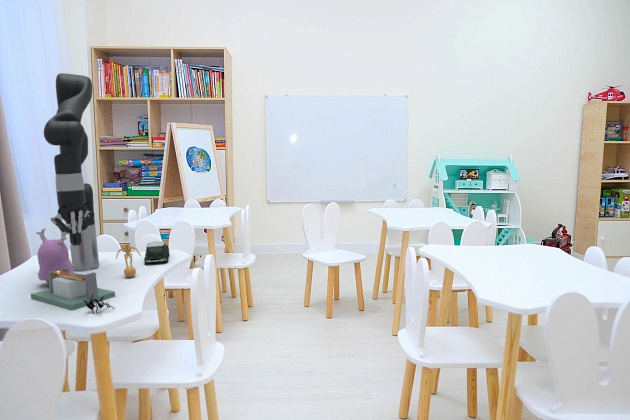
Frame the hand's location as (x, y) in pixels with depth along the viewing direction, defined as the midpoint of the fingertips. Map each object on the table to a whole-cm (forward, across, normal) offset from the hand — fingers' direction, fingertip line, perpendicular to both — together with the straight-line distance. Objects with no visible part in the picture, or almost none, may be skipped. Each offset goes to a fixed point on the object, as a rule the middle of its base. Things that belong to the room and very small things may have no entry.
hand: (76, 245), depth 143 cm
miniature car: (+18, -46, -20) cm, 53 cm away
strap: (+11, 0, -4) cm, 12 cm away
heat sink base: (+17, 0, -5) cm, 18 cm away
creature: (+18, +4, +16) cm, 24 cm away
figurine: (+18, -24, -9) cm, 31 cm away
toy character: (+18, -6, -24) cm, 30 cm away
